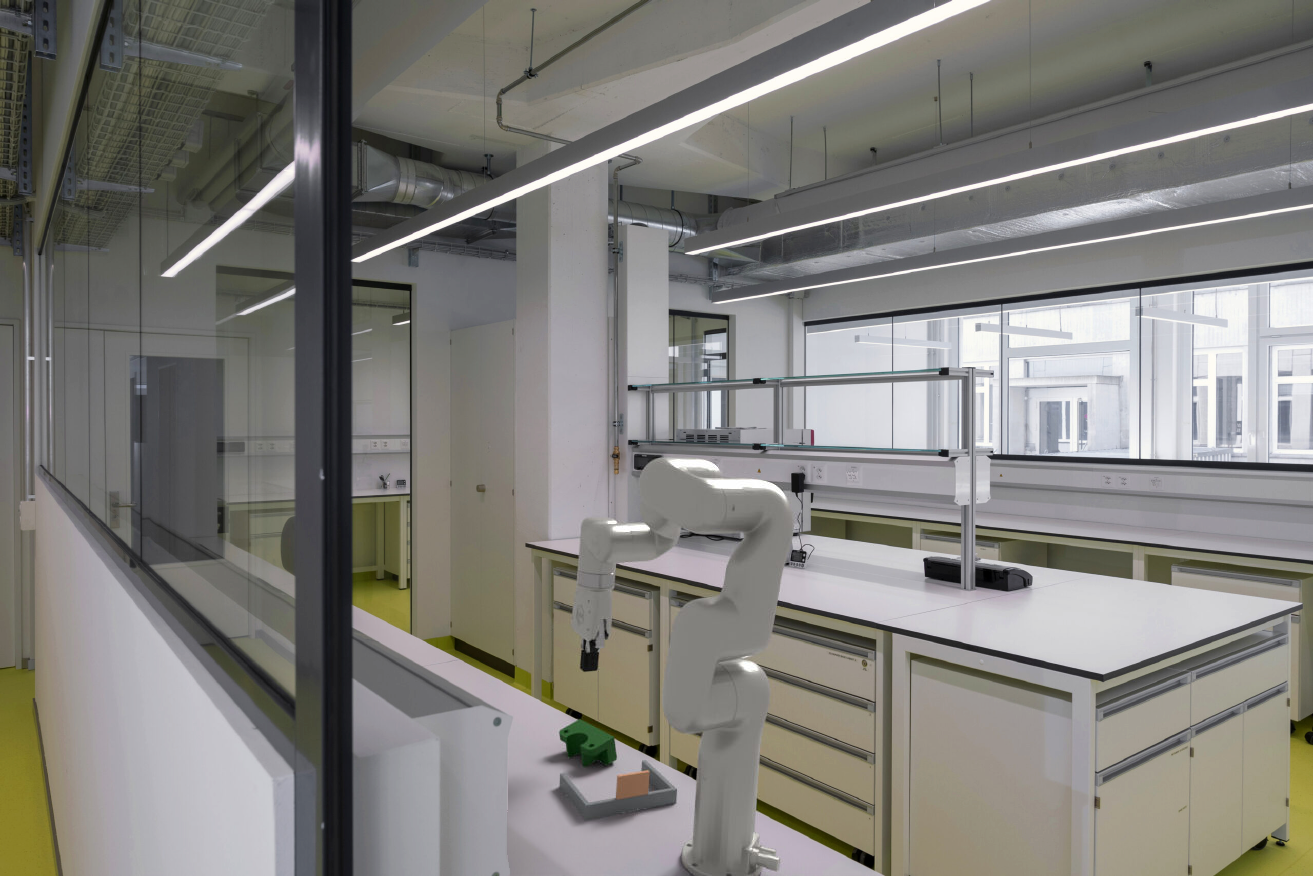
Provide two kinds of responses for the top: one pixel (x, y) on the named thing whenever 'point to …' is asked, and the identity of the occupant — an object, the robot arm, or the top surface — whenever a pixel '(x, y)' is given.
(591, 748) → the clamp
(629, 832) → the top surface
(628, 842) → the top surface
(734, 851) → the robot arm
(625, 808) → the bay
